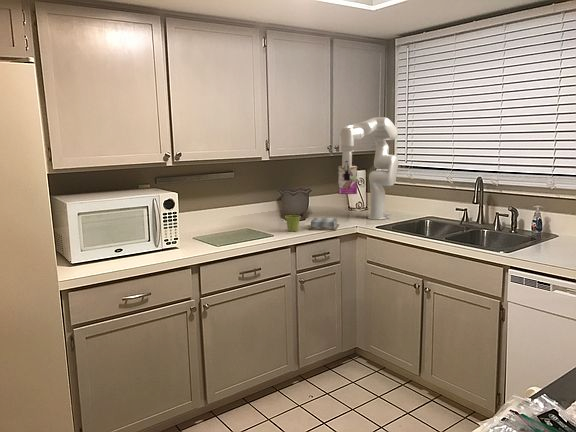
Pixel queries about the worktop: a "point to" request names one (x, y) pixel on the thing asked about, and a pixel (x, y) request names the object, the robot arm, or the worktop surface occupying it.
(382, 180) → the robot arm
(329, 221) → the blueprint base
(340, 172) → the candy bar box
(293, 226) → the plant pot
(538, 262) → the worktop surface
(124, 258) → the worktop surface
